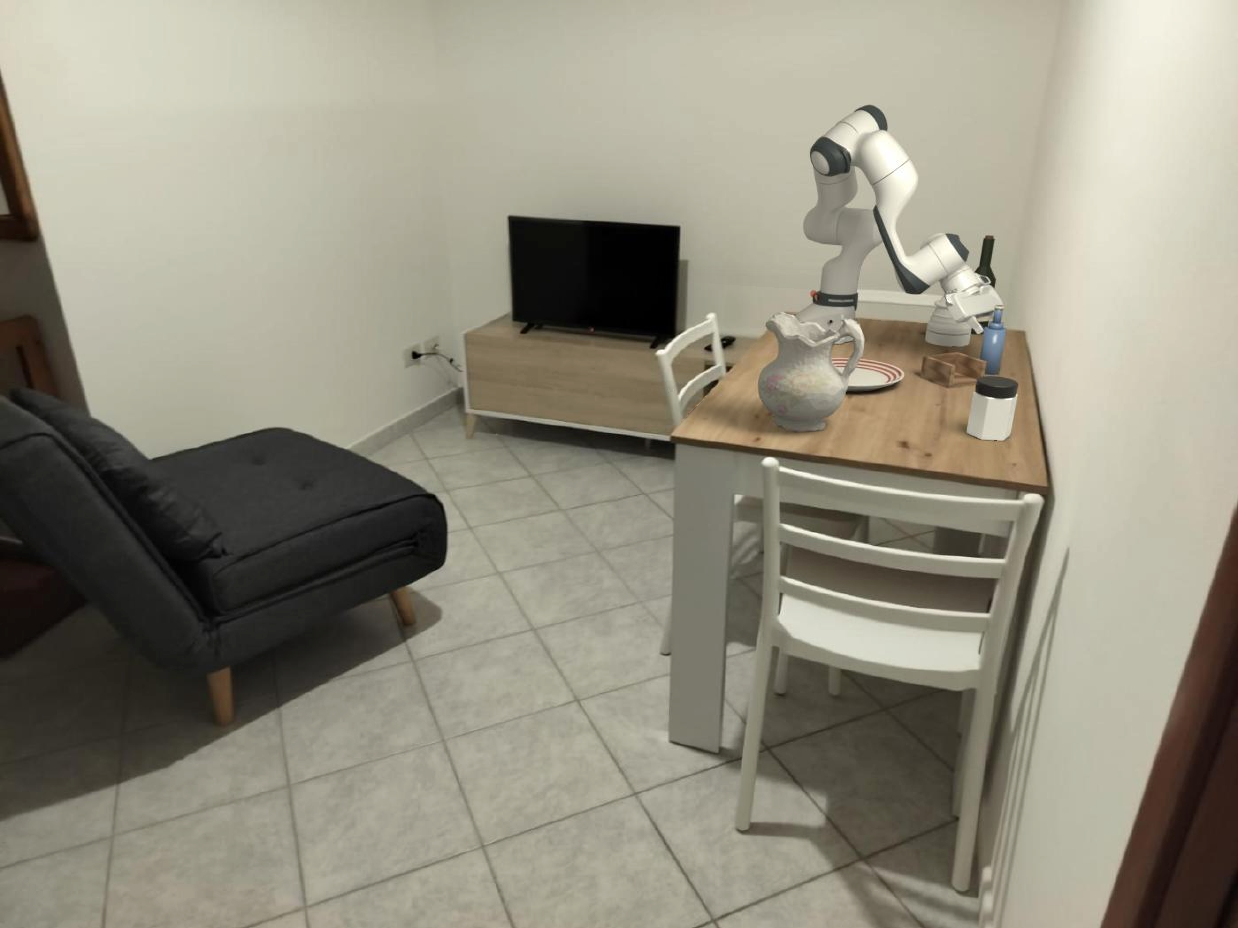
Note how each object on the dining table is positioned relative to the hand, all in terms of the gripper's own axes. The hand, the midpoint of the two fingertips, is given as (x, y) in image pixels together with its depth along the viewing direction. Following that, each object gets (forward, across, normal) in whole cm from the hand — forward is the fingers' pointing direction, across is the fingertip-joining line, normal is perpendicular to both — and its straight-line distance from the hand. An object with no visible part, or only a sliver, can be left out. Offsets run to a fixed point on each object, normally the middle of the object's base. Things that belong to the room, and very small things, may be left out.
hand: (991, 330), depth 221 cm
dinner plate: (-4, -36, +21) cm, 42 cm away
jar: (+27, -45, -10) cm, 53 cm away
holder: (+7, -14, +9) cm, 18 cm away
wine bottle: (-11, +42, +27) cm, 50 cm away
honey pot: (-9, +23, +26) cm, 36 cm away
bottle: (+9, +1, +8) cm, 12 cm away
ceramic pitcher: (+6, -71, +11) cm, 72 cm away
